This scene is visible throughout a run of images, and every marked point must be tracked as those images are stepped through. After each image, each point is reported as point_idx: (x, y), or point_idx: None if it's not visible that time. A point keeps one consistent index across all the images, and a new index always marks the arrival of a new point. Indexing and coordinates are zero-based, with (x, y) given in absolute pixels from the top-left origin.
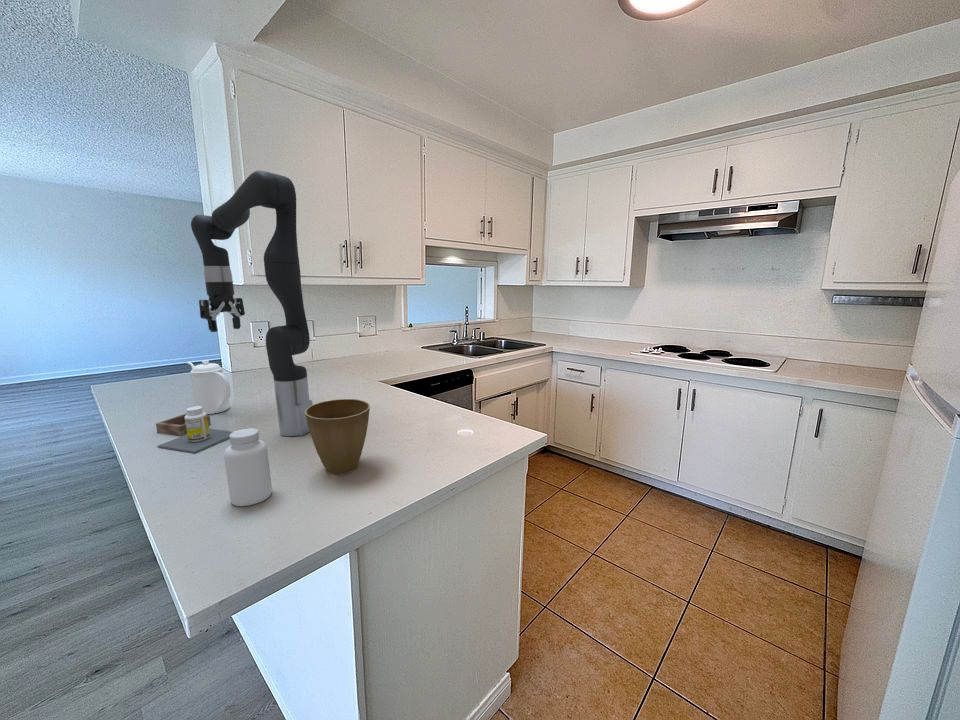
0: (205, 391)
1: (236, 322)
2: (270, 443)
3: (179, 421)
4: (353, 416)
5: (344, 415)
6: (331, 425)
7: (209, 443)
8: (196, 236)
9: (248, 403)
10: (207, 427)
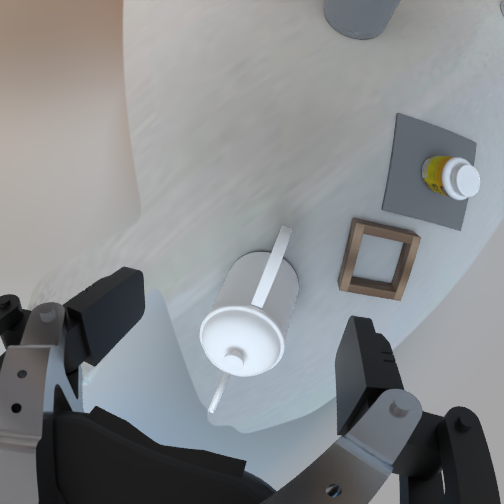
0: (287, 297)
1: (111, 304)
2: (416, 36)
3: (363, 282)
4: None
5: None
6: None
7: (449, 138)
8: None
9: (202, 237)
10: (441, 156)
